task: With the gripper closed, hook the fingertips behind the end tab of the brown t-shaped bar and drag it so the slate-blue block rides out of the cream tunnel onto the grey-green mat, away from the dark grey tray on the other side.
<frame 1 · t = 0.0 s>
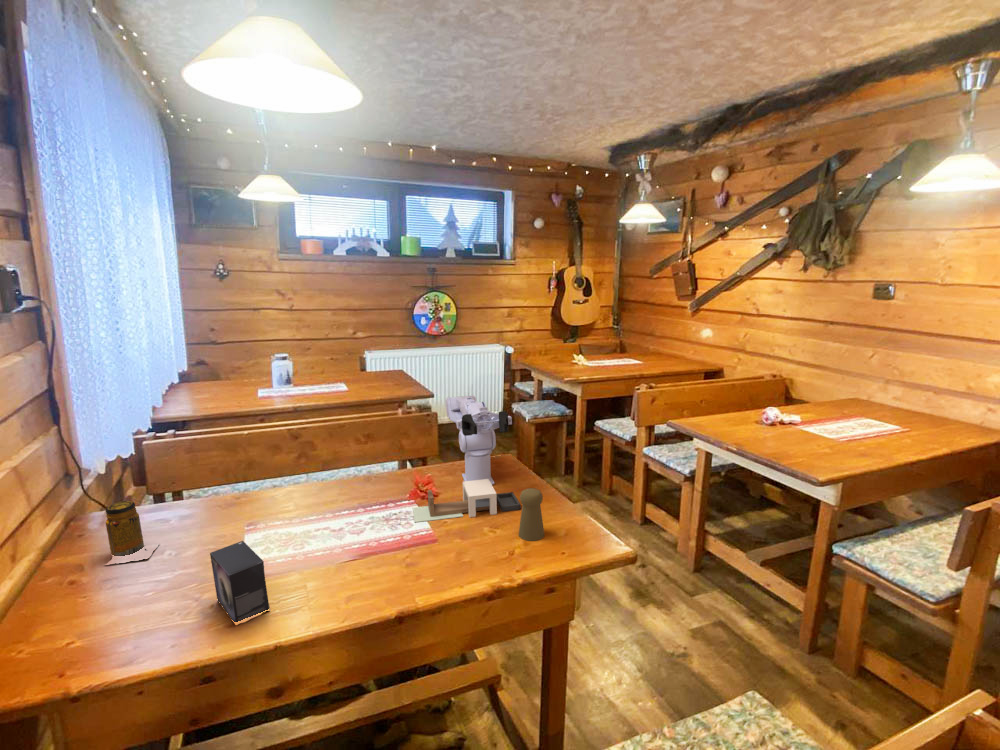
hand: (490, 428, 134), 22 cm above the table, tool horizontal, fingers open, 7 cm apart
condiment: (133, 556, 119), on the table
olive brown pawn: (531, 535, 125), on the table
small box: (242, 607, 101), on the table
mat: (437, 512, 137), on the table
dark grey tray: (507, 504, 141), on the table
tunnel: (479, 507, 140), on the table
brown t-shaped bar: (462, 499, 138), point 3 cm above the table, slide at 0.0 cm
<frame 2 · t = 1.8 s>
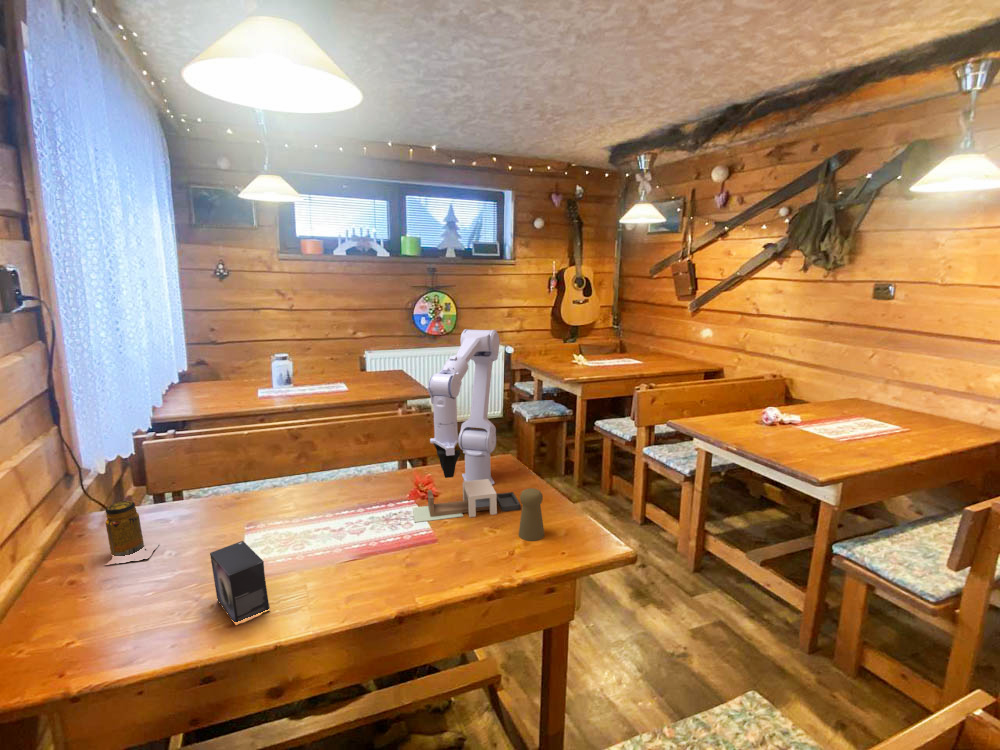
hand: (447, 473, 136), 10 cm above the table, tool pointing down, fingers open, 5 cm apart
nothing on the table moved.
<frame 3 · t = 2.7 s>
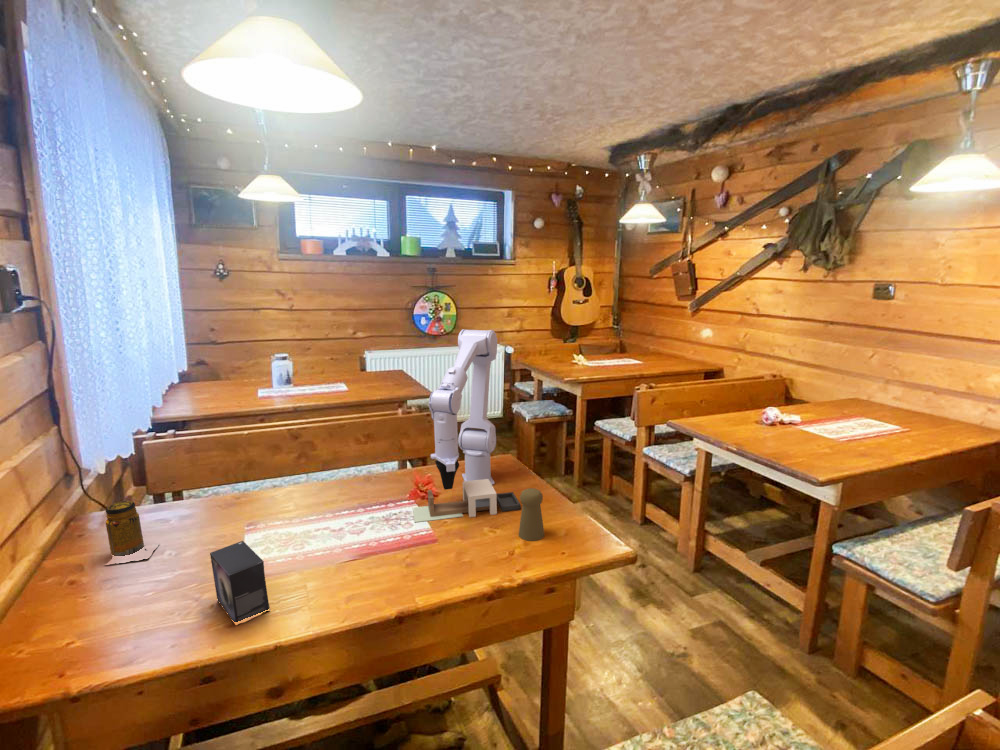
hand: (448, 488, 136), 6 cm above the table, tool pointing down, fingers closed
nothing on the table moved.
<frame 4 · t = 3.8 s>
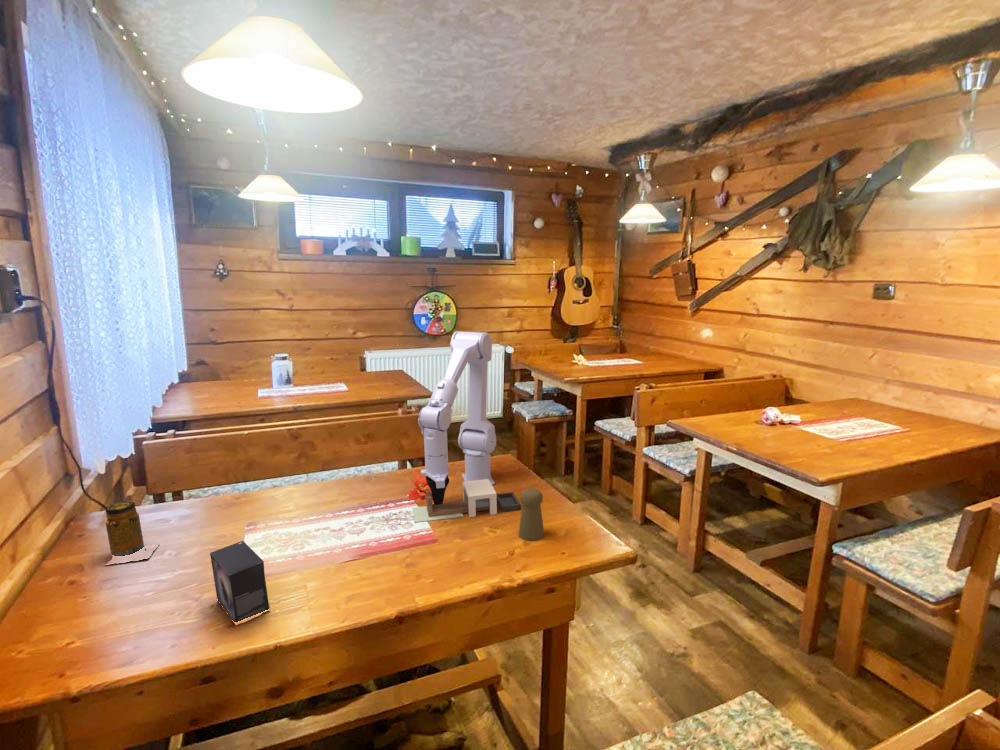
hand: (438, 503, 137), 2 cm above the table, tool pointing down, fingers closed, pressing on brown t-shaped bar
brown t-shaped bar: (460, 499, 138), point 3 cm above the table, slide at 0.4 cm, touching gripper
everything else where it was.
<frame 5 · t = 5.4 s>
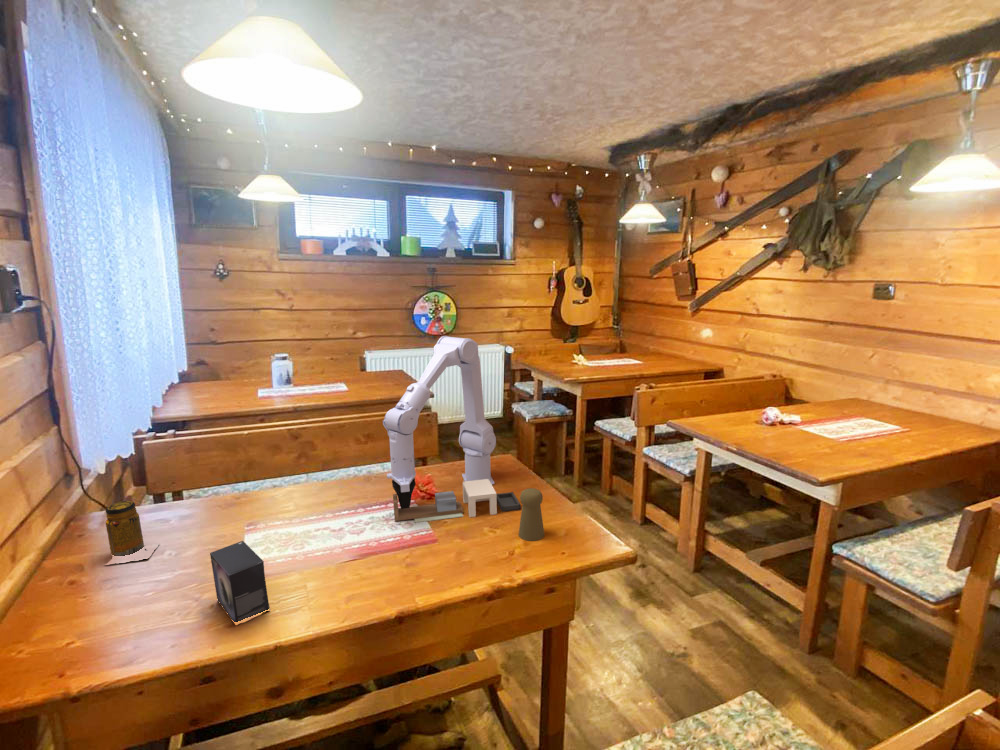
hand: (405, 507, 135), 2 cm above the table, tool pointing down, fingers closed, pressing on brown t-shaped bar
brown t-shaped bar: (427, 503, 136), point 3 cm above the table, slide at 8.8 cm, touching gripper
everything else where it was.
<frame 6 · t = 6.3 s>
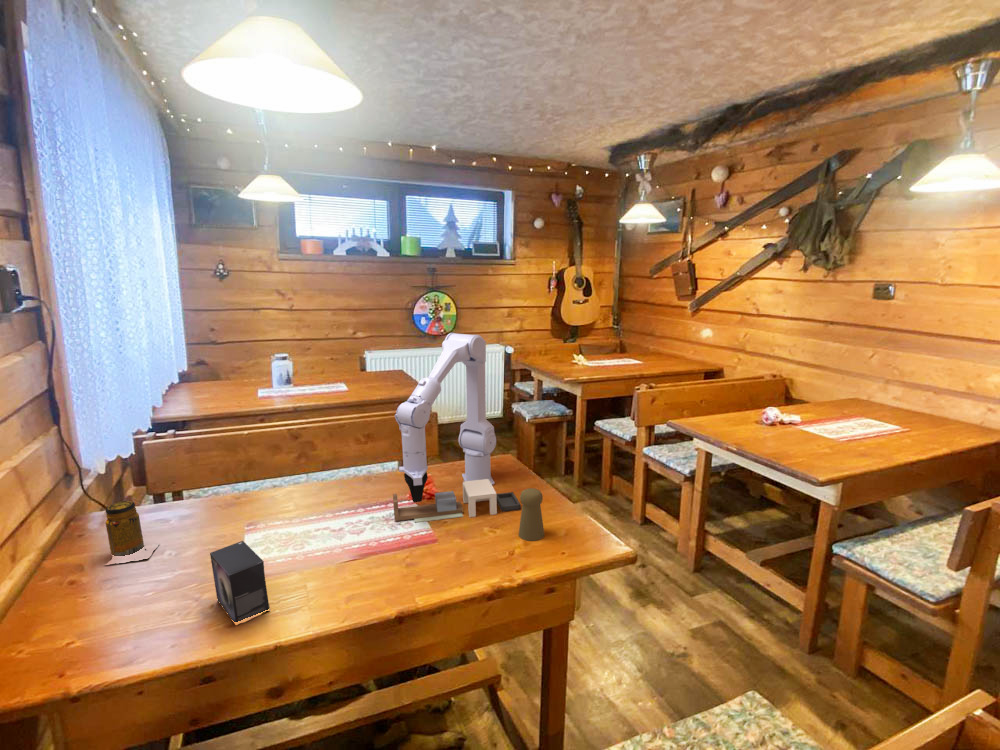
hand: (417, 500, 135), 4 cm above the table, tool pointing down, fingers closed
brown t-shaped bar: (427, 503, 136), point 3 cm above the table, slide at 8.8 cm
everything else where it was.
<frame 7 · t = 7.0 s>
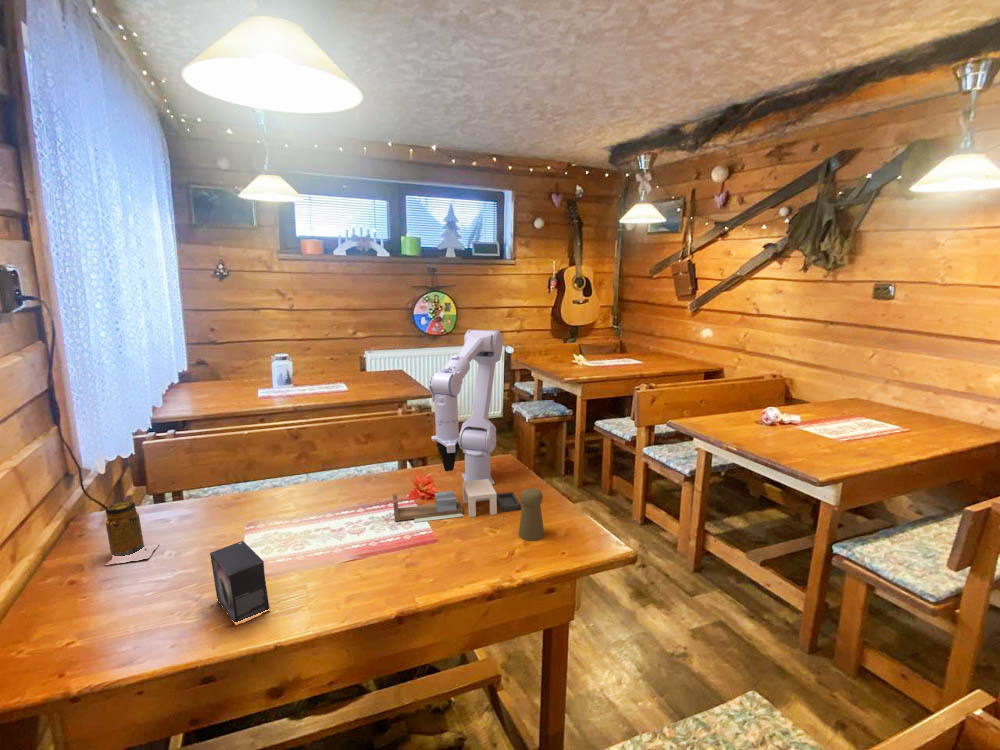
hand: (448, 470, 138), 10 cm above the table, tool pointing down, fingers closed
nothing on the table moved.
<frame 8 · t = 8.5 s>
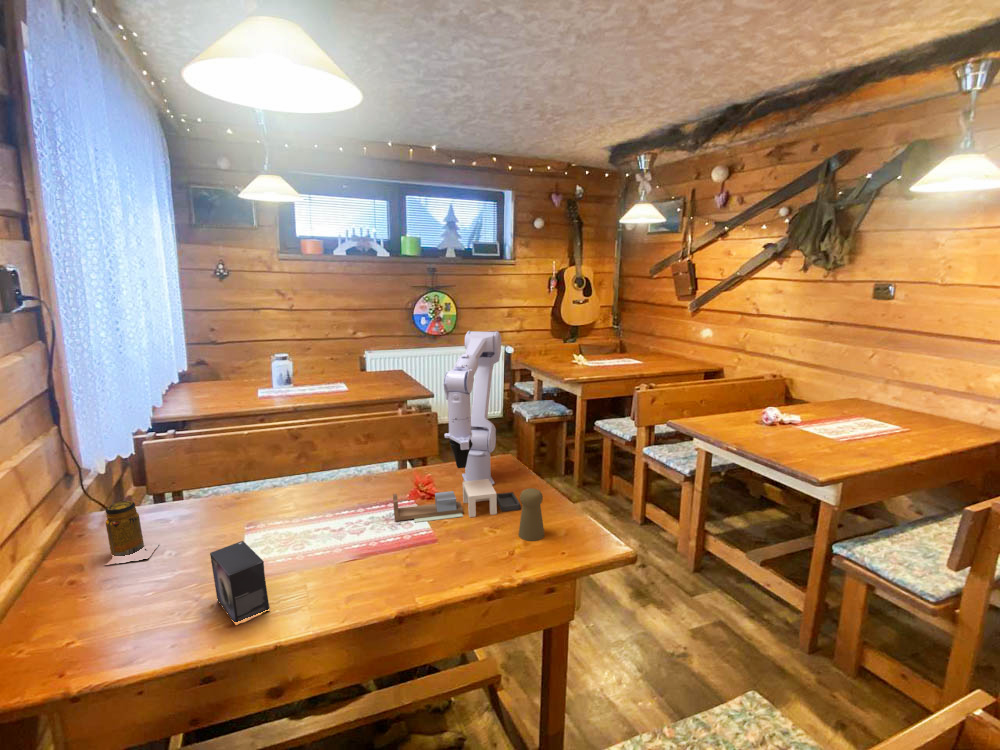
hand: (461, 467, 139), 10 cm above the table, tool pointing down, fingers closed
nothing on the table moved.
at the end: brown t-shaped bar slide at 8.8 cm; brown t-shaped bar touching nothing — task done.
